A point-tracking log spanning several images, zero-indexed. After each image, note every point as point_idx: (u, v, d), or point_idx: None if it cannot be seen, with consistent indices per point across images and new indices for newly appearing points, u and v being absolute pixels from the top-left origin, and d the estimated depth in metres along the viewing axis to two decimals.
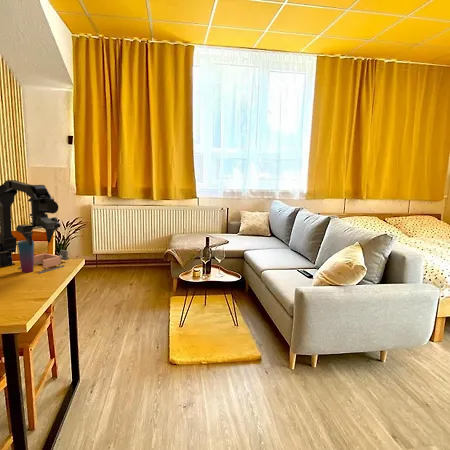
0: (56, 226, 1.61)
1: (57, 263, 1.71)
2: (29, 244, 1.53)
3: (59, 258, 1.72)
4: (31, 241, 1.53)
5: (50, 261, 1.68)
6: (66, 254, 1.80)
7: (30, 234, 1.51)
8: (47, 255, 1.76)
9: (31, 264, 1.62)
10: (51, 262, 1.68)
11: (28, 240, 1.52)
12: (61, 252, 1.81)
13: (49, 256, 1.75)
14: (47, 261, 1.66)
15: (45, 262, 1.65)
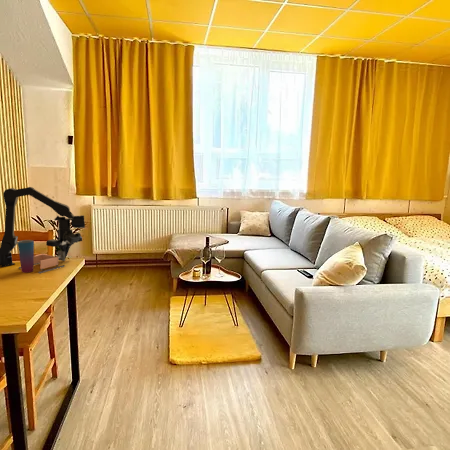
0: (79, 240, 1.86)
1: (54, 264, 1.70)
2: None
3: (56, 259, 1.71)
4: (65, 252, 1.81)
5: (48, 262, 1.66)
6: (64, 255, 1.79)
7: (65, 246, 1.79)
8: (44, 256, 1.75)
9: (31, 264, 1.62)
10: (48, 263, 1.67)
11: None
12: (59, 253, 1.80)
13: (46, 257, 1.74)
14: (44, 262, 1.65)
15: (42, 263, 1.64)
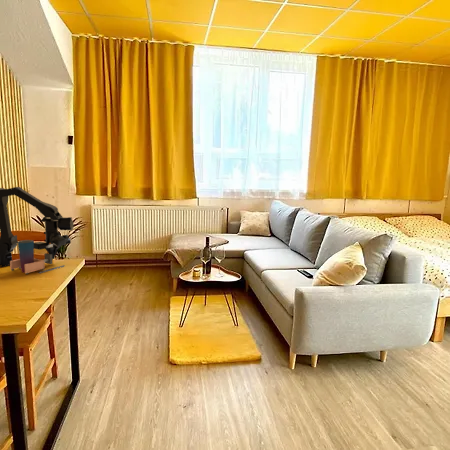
0: (67, 242, 1.79)
1: (40, 267, 1.63)
2: None
3: (42, 262, 1.64)
4: (53, 255, 1.74)
5: (33, 265, 1.59)
6: (51, 258, 1.72)
7: (52, 249, 1.72)
8: None
9: None
10: (34, 266, 1.60)
11: None
12: (45, 256, 1.73)
13: None
14: (29, 265, 1.58)
15: (27, 267, 1.57)
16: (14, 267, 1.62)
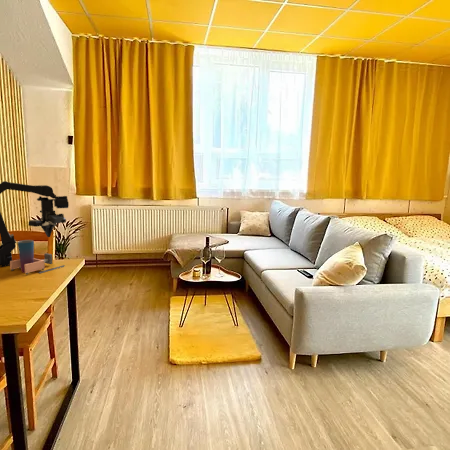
0: (62, 221, 1.85)
1: (40, 267, 1.63)
2: (47, 235, 1.81)
3: (42, 262, 1.64)
4: (48, 233, 1.81)
5: (33, 265, 1.59)
6: (51, 258, 1.72)
7: (48, 227, 1.79)
8: None
9: None
10: (34, 266, 1.60)
11: (46, 232, 1.80)
12: (45, 256, 1.73)
13: None
14: (29, 265, 1.58)
15: (27, 267, 1.57)
16: (14, 267, 1.62)
